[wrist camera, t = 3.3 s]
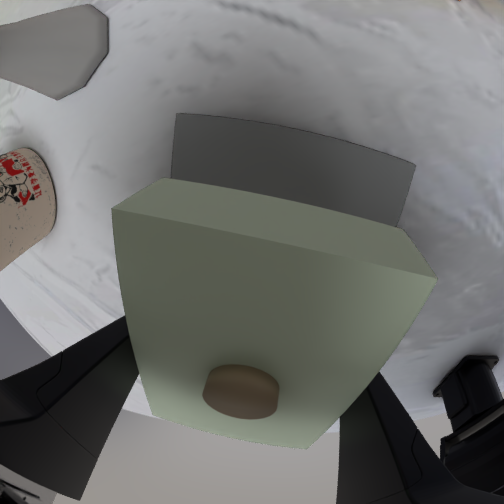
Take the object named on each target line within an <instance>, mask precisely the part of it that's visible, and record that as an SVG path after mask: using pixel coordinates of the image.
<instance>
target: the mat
mask: <svg viewBox="0 0 504 504" xmlns="http://www.w3.org/2000/svg"><path fill="white" fill-rule="evenodd" d="M415 167H416V165H415V164H413V163H410V162H408V161H405V160H402V159H400V158H397V157H394V156H391V155H388V154H385V153H382V152H379V151H376V150H373V149H370V148H367V147H364V146H360V145H357V144H354V143H350V142H347V141H343V140H340V139H336V138H332V137H328V136H324V135H320V134H316V133H312V132H307V131H303V130H298V129H294V128H289V127H284V126H278V125H273V124H267V123H261V122H255V121H249V120H242V119H235V118H227V117H218V116H209V115H198V114H184V113H177V114H176V122H175V131H174V142H173V154H172V167H171V179H177V180H183V181H190V182H196V183H202V184H208V185H214V186H220V187H225V188H231V189H236V190H241V191H247V192H252V193H257V194H262V195H267V196H272V197H276V198H281V199H286V200H290V201H295V202H299V203H304V204H308V205H312V206H317V207H321V208H325V209H329V210H333V211H337V212H341V213H345V214H349V215H353V216H357V217H361V218H364V219H368V220H372V221H375V222H379V223H383V224H386V225H390V226H393V227H396V226H397V223H398V220H399V217H400V215H401V212H402V209H403V206H404V203H405V200H406V197H407V194H408V191H409V188H410V184H411V181H412V178H413V174H414V171H415Z"/></svg>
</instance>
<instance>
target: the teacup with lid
mask: <svg viewBox="0 0 504 504" xmlns="http://www.w3.org/2000/svg"><path fill="white" fill-rule="evenodd" d="M55 212H56V204H55V195H54V189H53V185H52V181H51V178H50V175H49V173H48V170H47V168H46V166H45V164H44V163H43V161H42V160H41V158H40V157H39V156H38V155H37V154H36V153H35V152H33V151H32V150H30V149H27V148H20V149H17V150H14V151H11V152H9V153H6V154H3V155H1V156H0V271H1V270H3V269H4V268H5V267H6V266H7V265H9V264H10V263H11V262H12V261H14V260H15V259H16V258H18V257H19V256H20V255H21V254H23V253H24V252H25V251H27V250H28V249H29V248H31V247H32V246H33V245H35V244H36V243H37V242H39V241H40V240H42V239H43V238H44V237H46V236H47V235H48V234H49V232H50V231H51V229H52V227H53V224H54V220H55Z"/></svg>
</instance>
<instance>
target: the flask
mask: <svg viewBox="0 0 504 504" xmlns="http://www.w3.org/2000/svg"><path fill="white" fill-rule="evenodd" d="M106 54H107V17H106V16H104V15H103V14H102V13H101V12H99V11H98V10H97V9H95V8H94V7H93V6H91V5H90V4H86V5H79V6H74V7H70V8H66V9H61V10H57V11H54V12H50V13H46V14H42V15H38V16H35V17H31V18H28V19H25V20H22V21H18V22H15V23H10V24H5V25H1V26H0V78H2V79H5V80H8V81H11V82H14V83H17V84H19V85H22V86H25V87H28V88H30V89H32V90H35V91H37V92H39V93H41V94H44V95H46V96H48V97H50V98H53V99H55V100H59V99H61V98H63V97H65V96H66V95H68V94H70V93H72V92H74V91H76V90H78V89H80V88H82V87H84V85H85V84H86V82H87V80H88V79H89V77H90V76H91V74H92V73H93V72H94V70H95V69H96V67H97V66H98V64H99V63H100V62H101V60H102V59H103V58H104V56H105V55H106Z"/></svg>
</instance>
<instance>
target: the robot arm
mask: <svg viewBox="0 0 504 504" xmlns="http://www.w3.org/2000/svg"><path fill="white" fill-rule="evenodd" d="M498 361H499V358H498V357H497V356H467V357H465V358H464V359H463V360H462V361H461V363H460V364H459V365H458V366H457V367H456V368H455V370H454V371H453V372H452V373H451V374H450V375H449V376H448V377H447V378H446V380H445V381H444V382H443V383H442V384H441V385H440V386H439V387H438V388H437V389H436V390H435V391H434V392H433V396H434V397H443V401H444V404H445V408H446V412H447V416H448V418H449V419H450V420H451V425H452V429H453V433H452V434H450V435H449V436H445V437H443V438H441V445H440V459H439V458H438V456H437V455H436V454H435V452H434V451H433V450H432V448H431V447H430V446H429V444H428V443H427V441H426V440H425V438H424V437H423V435H422V434H421V432H420V431H419V429H417V426H416V425H415V423H414V422H413V420H412V419H411V417H410V416H409V414H408V413H407V411H406V410H405V408H404V407H403V405H402V404H401V402H400V401H399V399H398V398H397V396H396V395H395V393H394V392H393V390H392V389H391V388H390V386H389V385H388V383H387V382H386V380H385V379H384V377H383V376H382V375H381V373H380V372H378V373H377V374H376V376H375V377H374V378H373V379H372V381H371V382H370V383H369V384H368V386H367V387H366V388H365V389H364V390H363V392H362V393H361V394H360V395H359V396H358V397H357V399H356V400H355V401H354V402H353V403H352V404H351V405H350V406H349V408H348V409H347V410H346V411H345V412H344V413H343V414H342V415H341V416H340V445H339V471H338V486H337V499H336V504H504V399H503V397H502V394H501V392H500V389H499V387H498V384H497V382H496V379H495V377H494V375H493V372H492V370H491V369H492V368H493V367H494V366H495V365H496V364H497V363H498ZM138 375H139V370H138V367H137V363H136V359H135V355H134V351H133V348H132V343H131V339H130V335H129V330H128V326H127V321H126V316H123V317H121V318H119V319H117V320H116V321H114V322H112V323H110V324H109V325H107V326H105V327H103V328H102V329H100V330H98V331H96V332H95V333H93V334H91V335H89V336H88V337H86V338H84V339H82V340H81V341H79V342H77V343H75V344H74V345H72V346H70V347H68V348H67V349H65V350H63V352H62V351H61V352H59V353H58V354H56V355H54V356H52V357H51V358H49V359H47V360H45V361H43V362H41V363H39V364H37V365H35V366H33V367H31V368H29V369H26V370H24V371H21V372H19V373H17V374H15V375H12V376H10V377H8V378H5V379H2V380H0V504H52V503H53V501H54V499H55V496H56V494H57V493H60V494H62V495H65V496H67V497H70V498H73V499H76V500H80V499H81V497H82V495H83V492H84V490H85V488H86V485H87V483H88V481H89V478H90V476H91V473H92V471H93V469H94V467H95V465H96V462H97V460H98V457H99V455H100V453H101V451H102V449H103V447H104V444H105V442H106V440H107V438H108V436H109V434H110V431H111V429H112V427H113V425H114V423H115V421H116V419H117V417H118V415H119V413H120V411H121V409H122V407H123V405H124V403H125V401H126V399H127V397H128V395H129V393H130V391H131V389H132V387H133V385H134V383H135V381H136V379H137V377H138Z"/></svg>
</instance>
